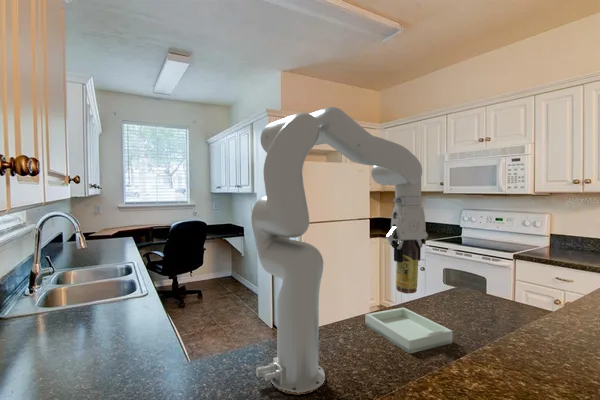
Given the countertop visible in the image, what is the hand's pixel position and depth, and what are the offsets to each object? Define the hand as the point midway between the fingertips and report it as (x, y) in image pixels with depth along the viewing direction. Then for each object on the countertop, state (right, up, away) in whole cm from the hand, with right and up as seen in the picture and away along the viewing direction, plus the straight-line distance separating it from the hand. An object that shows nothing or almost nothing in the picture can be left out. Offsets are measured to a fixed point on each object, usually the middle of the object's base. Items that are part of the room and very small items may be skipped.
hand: (407, 260), depth 95 cm
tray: (0, -22, 0) cm, 22 cm away
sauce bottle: (0, -10, 0) cm, 10 cm away
